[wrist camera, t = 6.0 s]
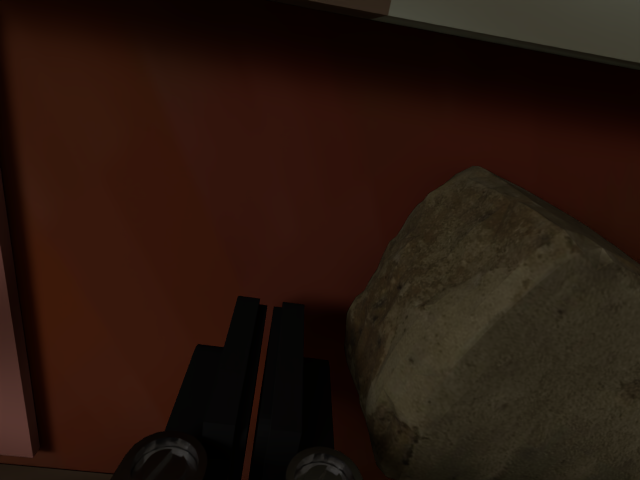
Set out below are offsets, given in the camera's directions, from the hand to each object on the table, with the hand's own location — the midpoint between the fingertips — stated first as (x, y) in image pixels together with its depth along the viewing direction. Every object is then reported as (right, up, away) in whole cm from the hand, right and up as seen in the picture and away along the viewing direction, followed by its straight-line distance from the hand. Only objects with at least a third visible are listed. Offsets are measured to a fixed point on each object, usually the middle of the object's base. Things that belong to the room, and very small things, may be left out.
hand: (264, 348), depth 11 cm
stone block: (+8, 0, +2) cm, 8 cm away
